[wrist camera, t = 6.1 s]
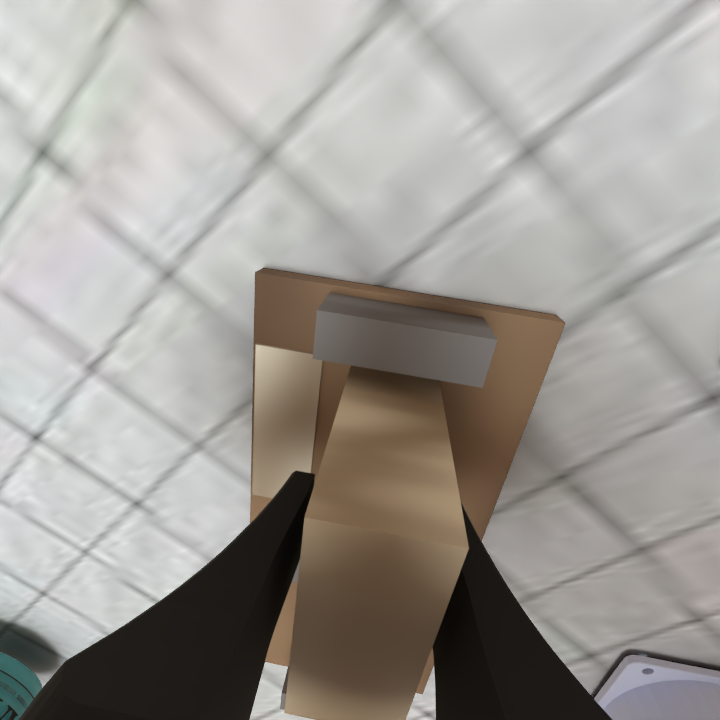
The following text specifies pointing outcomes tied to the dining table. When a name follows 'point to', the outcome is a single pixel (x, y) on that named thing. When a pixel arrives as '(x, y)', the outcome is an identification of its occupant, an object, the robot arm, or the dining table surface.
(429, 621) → the tall tan box
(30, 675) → the beverage bottle
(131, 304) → the dining table surface
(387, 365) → the brown board with blocks
